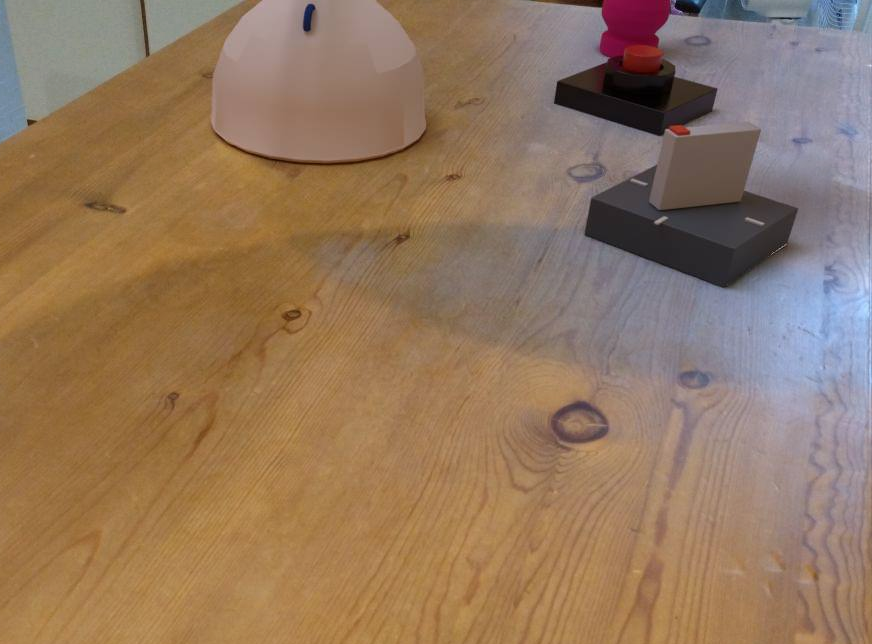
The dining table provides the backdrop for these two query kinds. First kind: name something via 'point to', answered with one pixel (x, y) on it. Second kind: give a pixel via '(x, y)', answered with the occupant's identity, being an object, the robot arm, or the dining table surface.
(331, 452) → the dining table surface
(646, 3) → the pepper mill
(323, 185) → the dining table surface
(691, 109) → the block
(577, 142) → the dining table surface
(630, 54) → the button
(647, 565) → the dining table surface
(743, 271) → the dial base
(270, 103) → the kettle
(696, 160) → the upright beige slab
